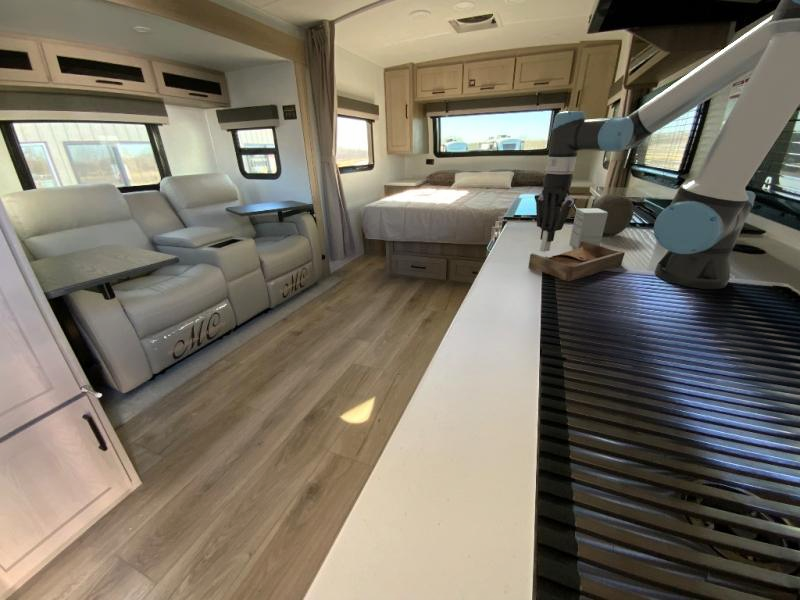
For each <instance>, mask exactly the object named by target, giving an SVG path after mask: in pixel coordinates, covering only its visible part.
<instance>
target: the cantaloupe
mask: <svg viewBox="0 0 800 600" xmlns="http://www.w3.org/2000/svg"><path fill="white" fill-rule="evenodd" d="M591 208H598V209H601V210H603V211H606V212H607V213H608V215H607V219H606V223H605V227H604V231H603V235H602V237H613V236H616V235H618V234H620V233H622V232H623V231H625V230H626V229H627V228H628V226H629V224H630V223H631V221H632V219H633V217H634V210H635V209H634V208H635V207H634V204H633V201H632V200H631V199H630V197H628V196H625V195H620V194H613V193H612V194H606V195H603V196H602V197H599V199H597V200H596V201H595V203H594V204H593V206H592V207H591Z"/></svg>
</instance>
